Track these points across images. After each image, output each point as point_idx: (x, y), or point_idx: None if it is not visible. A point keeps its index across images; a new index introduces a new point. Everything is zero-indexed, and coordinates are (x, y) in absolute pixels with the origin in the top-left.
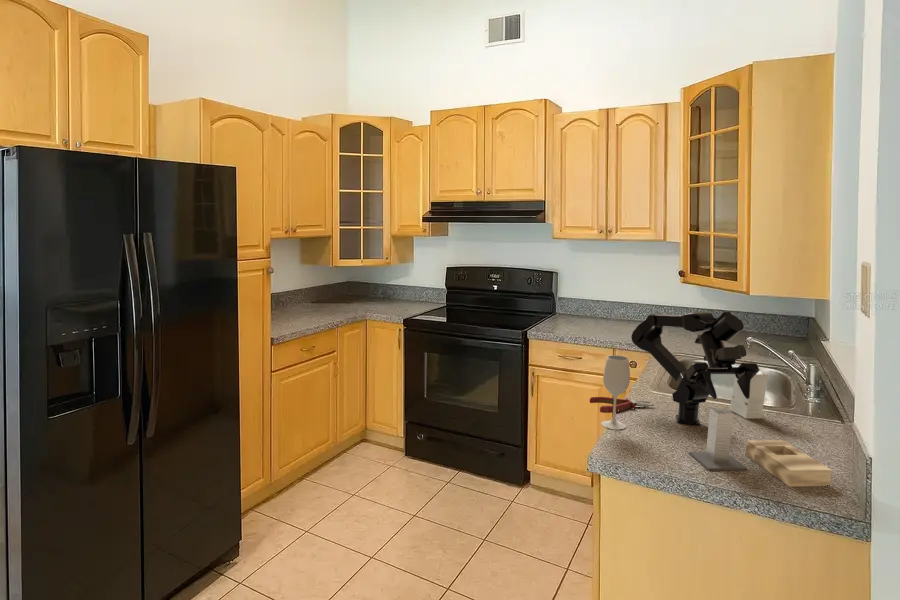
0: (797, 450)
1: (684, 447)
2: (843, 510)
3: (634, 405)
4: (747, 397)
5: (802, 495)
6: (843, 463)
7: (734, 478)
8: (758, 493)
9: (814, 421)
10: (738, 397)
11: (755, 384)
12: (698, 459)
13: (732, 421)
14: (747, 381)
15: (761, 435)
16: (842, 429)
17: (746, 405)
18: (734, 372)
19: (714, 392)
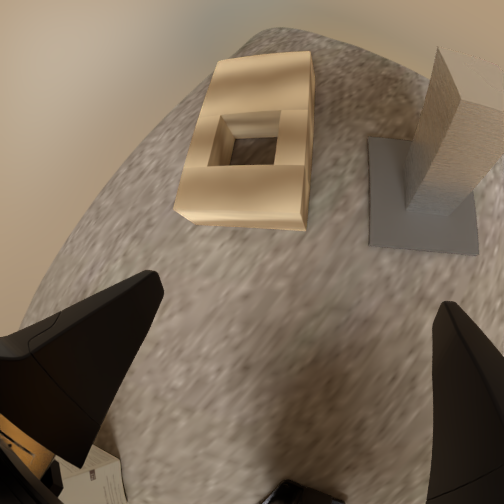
0: (197, 139)
1: (466, 308)
2: (281, 32)
3: None
4: (158, 279)
5: (313, 56)
6: (116, 178)
7: (417, 112)
8: (393, 66)
9: None
10: (93, 501)
11: None
12: (473, 198)
13: (432, 73)
14: (37, 335)
15: (148, 362)
16: (20, 329)
17: (95, 472)
18: (37, 492)
19: (469, 328)
